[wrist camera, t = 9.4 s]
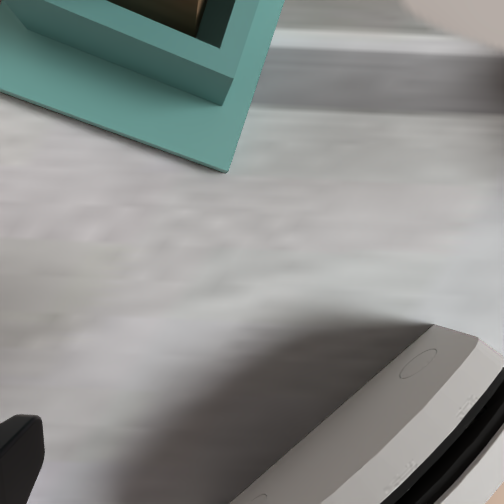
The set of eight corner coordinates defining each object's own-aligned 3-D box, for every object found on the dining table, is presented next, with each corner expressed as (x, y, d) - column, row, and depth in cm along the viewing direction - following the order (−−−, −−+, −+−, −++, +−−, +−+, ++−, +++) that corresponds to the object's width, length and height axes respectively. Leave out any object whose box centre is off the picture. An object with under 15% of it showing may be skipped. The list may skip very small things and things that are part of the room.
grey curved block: (263, 582, 23) (259, 781, 13) (210, 509, 24) (167, 644, 14) (483, 384, 24) (631, 427, 14) (426, 321, 25) (530, 319, 15)
